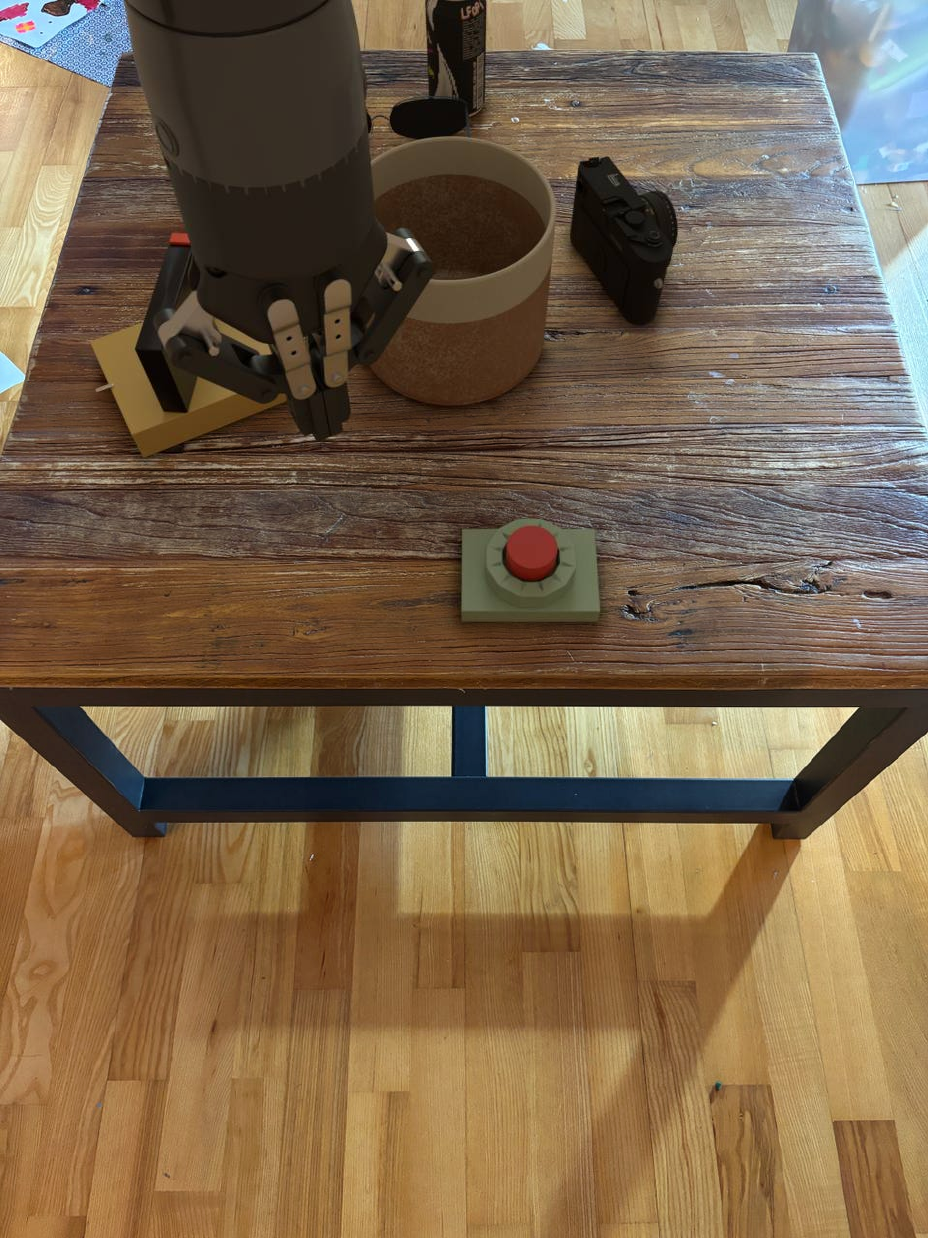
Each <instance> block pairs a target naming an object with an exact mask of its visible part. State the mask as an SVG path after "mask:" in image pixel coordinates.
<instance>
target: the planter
mask: <svg viewBox="0 0 928 1238" xmlns="http://www.w3.org/2000/svg"><path fill="white" fill-rule="evenodd" d="M371 169H372V180H373V191H374V202H375V216H376V218H377V220H378V221H379V223H380V224H381V225H382V226H383V227H384V229H385V231H386V232H387V233H390V234H392V233H393V232H394V231H396V230H397V229H400V228H407V229H409V230H410V231H411V233H412V234H413V236H414V237H415V239H416V240H417V241H418V243H419V244H420V246H421V247H422V249H423V250H424V251H425V253H426V254H427V256H428V257H429V259H430V260H431V261H432V263H433V264H434V266H435V272H434V275H433V276H432V278H431V280H430V281H429V283H428V284H427V286H426V287H425V289H424V290H423V292H422V293H421V295H420V296H419V298H418V299H417V301H416V303H415V304H414V306H413V307H412V309H411V310H410V312H409V313H408V315H407V316H406V318H405V319H404V321H403V322H402V324H401V326H400V327H399V329H398V330H397V332H396V333H395V335H394V336H393V338H392V339H391V341H390V342H389V344H388V346H387V347H386V349H385V350H384V352H383V353H382V355H381V356H380V358H379V359H378V360H377V361H376V362H375V363H373V364H371V365H368V366H369V368H370V369H371V370H372V372H373V373H374V375H376V376H377V377H378V378H379V380H381V381H382V382H383V383H384V384H385V385H387V386H388V387H389V388H390V389H392V390H394V391H395V392H397V393H399V394H400V395H402V396H405V397H406V398H409V399H412V400H415V401H418V402H421V403H425V404H429V405H430V404H431V405H437V406H466V405H471V404H472V405H473V404H477V403H481V402H485V401H489V400H492V399H494V398H496V397H498V396H501V395H503V394H505V393H507V392H508V391H510V390H512V389H513V388H515V387H516V386H517V385H519V384H520V383H521V382H522V381H523V380H524V379H525V378H526V377H527V376H528V375H529V374H530V373H531V371H533V369H534V368H535V366H536V365H537V363H538V361H539V359H540V357H541V354H542V352H543V349H544V344H545V335H546V325H547V313H548V305H549V294H550V285H551V284H550V283H551V275H552V264H553V263H552V262H553V255H554V254H553V253H554V242H555V231H556V221H557V202H556V196H555V193H554V191H553V190H554V189H553V188H552V186H551V184H550V182H549V180H548V178H547V177H546V176H545V174H544V173H543V172H542V171H541V170H540V169H539V168H538V167H537V166H536V165H535V164H534V163H533V162H531V160H529V159H528V158H527V157H525V156H523V155H521V154H520V153H518V152H517V151H515V150H513V149H511V148H509V147H506V146H504V145H501V144H499V143H496V142H493V141H489V140H486V139H481V138H476V137H475V138H474V137H471V138H468V137H467V136H449V137H434V138H427V139H421V140H418V139H416V140H413V141H410V142H406V143H403V144H399V145H398V146H395V147H393V148H390V149H389V150H387V151H384V152H383V153H381V154H379V155H378V156H376V157H375V158H373V159H371ZM374 316H375V313H374V314H373V315H372V317H371V319H370V320H369V322H368V323H367V325H366V326H367V328H368V327H369V326H370V324H371V323H372V321H373V319H374Z"/></svg>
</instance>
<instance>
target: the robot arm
mask: <svg viewBox="0 0 928 1238" xmlns="http://www.w3.org/2000/svg"><path fill="white" fill-rule="evenodd" d="M122 1H123V5H124V10H125V15H126V19H127V26H128V34H129V39H130V45H131V50H132V56H133V60H134V63H135V68H136V71H137V75H138V79H139V82H140V86H141V90H142V93H143V95H144V96H143V97H144V99H145V102H146V105H147V108H148V112H149V115H150V118H151V121H152V125H153V128H154V131H155V134H156V138H157V140H158V144H159V148H160V151H161V154H162V157H163V160H164V164H165V167H166V170H167V174H168V176H169V180H170V183H171V187H172V190H173V193H174V196H175V199H176V202H177V206H178V209H179V212H180V215H181V219H182V222H183V225H184V228H185V231H186V234H187V235H188V238H189V242H190V245H191V249H192V260H191V264H190V267H189V271H188V281H189V285H190V287H191V289H192V293H191V294H190V295H189V296H188V298H187V299H186V300H185V301H184V303H183V304H182V305H181V306H180V308H179V309H178V310H177V311H176V310H174V309H163V310H161V311H159V312H158V313H157V314H156V315H155V316H154V319H153V324H154V326H155V329H156V331H157V333H158V336H159V338H160V340H161V342H162V344H163V346H164V348H165V350H166V352H167V353H168V355H169V358H170V360H171V362H172V364H173V365H174V366H175V367H177V368H179V369H182V370H184V371H186V372H188V373H191V374H193V375H195V376H198V377H200V378H202V379H205V380H207V381H209V382H212V383H214V384H216V385H219V386H221V387H223V388H225V389H228V390H230V391H232V392H235V393H237V394H239V395H242V396H244V397H246V398H249V399H251V400H253V401H256V402H258V403H261V404H266V403H270V402H272V401H273V400H275V399H276V398H277V396H278V394H285V395H286V399H287V401H286V403H287V408H288V411H289V414H290V416H291V417H292V418H291V419H293V422H294V423H295V425H296V427H297V428H298V431H299V433H301V434H302V435H303V436H304V437H307V436H310V435H312V436H313V438H314V440H315V442H316V443H319V442H321V441H324V440H326V439H329V438H332V437H335V436H337V435H339V434H342V433H344V428H343V422H344V423H345V422H347V421H349V420H350V418H351V414H352V409H351V402H350V395H349V389H348V382H347V381H348V378H349V372H350V371H351V370H352V369H353V368H355V367H356V366H357V365H358V364H361V365H362V366H369V365H371V364H373V363H375V362H376V361H377V360H378V359H379V358H380V356H381V355H382V353H383V352H384V350H385V349H386V347H387V346H388V344H389V342H390V341H391V339H392V338H393V336H394V335H395V333H396V332H397V330H398V329H399V327H400V326H401V324H402V322H403V321H404V319H405V318H406V316H407V315H408V313H409V312H410V310H411V309H412V307H413V306H414V304H415V303H416V301H417V299H418V298H419V296H420V295H421V293H422V292H423V290H424V289H425V287H426V286H427V284H428V283H429V281H430V280H431V278H432V276H433V275H434V272H435V266H434V264H433V263H432V261H431V260H430V259H429V257H428V256H427V254H426V253H425V251H424V250H423V249H422V247H421V246H420V244H419V243H418V241H417V240H416V239H415V237H414V236H413V234H412V233H411V231H410V230H409V229H407V228H400V229H397V230H396V231H394V232H393V233H392V234H390V233H387V232H386V231H385V229H384V227H383V226H382V225H381V224H380V223H379V221H378V220H377V218H376V216H375V202H374V191H373V180H372V169H371V161H372V159H371V158H372V157H371V148H370V137H369V134H368V125H367V113H366V109H367V103H366V99H367V91H368V81H367V74H366V73H367V72H366V68H365V66H364V64H363V61H362V59H363V58H362V50H361V43H360V42H361V41H360V35H359V28H358V24H357V19H356V14H355V9H354V6H353V2H352V1H353V0H122ZM374 313H375V316H374V319H373V321H372V323H371V324H370V326H369V327H368V328H367V326H366V325H367V323H368V322H369V320H370V319H371V317H372V315H373V314H374ZM214 317H215V318H217V319H218V320H220V321H222V322H224V323H226V324H227V325H229V326H231V327H233V328H234V329H236V330H238V331H240V332H242V333H243V334H245V335H247V336H249V337H250V338H252V339H254V340H256V341H258V342H261V343H264V344H268V346H269V349H270V351H271V354H267V355H260V353H259V352H258V351H257V350H255V349H253V348H251V347H249V346H247V345H245V344H243V343H241V342H239V341H237V340H235V339H233V338H231V337H229V336H227V335H225V334H223V333H221V332H220V331H219V329H218V327H217V325H216V324H215V322H214Z"/></svg>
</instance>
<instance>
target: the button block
mask: <svg viewBox="0 0 928 1238" xmlns="http://www.w3.org/2000/svg"><path fill="white" fill-rule="evenodd" d="M524 526H539V527H542V528H544V529H546V530H548V531H549V532H550V533H551V534H552V535H553V536H554V538H555V540H556V542H557V547H558V550H557V556H556V562H555V566H554V568H553V570H552V571H551V573H550V574H548V575H547V576H546V577H544V578H542V579H539V580H532V581H530V580H524V579H521V578H519V577H517V576H515V575H514V574H513V573H512V572H511V571H510V570H509V568H508V566H507V563H506V549H507V541H508V539H509V537H510V535H511V534H512V533H513V532H514V531H516V530H517V529H519V528H521V527H524ZM598 573H599V572H598V557H597V543H596V530H595V529H594V528H561V527H560V526H557V525H556V524H553V523H551V522H549V521H547V520H545V519H542V518H518V519H515V520H513V521H511V522H509V523H507V524H505V525H503V526H500V527H499V528H462V529H461V604H460V605H461V622H471V623H472V622H474V623H476V622H481V623H482V622H483V623H486V622H488V623H489V622H492V623H493V622H494V623H495V622H499V623H500V622H503V623H504V622H506V623H507V622H509V623H512V622H515V623H517V622H518V623H519V622H520V623H521V622H522V623H528V622H529V623H531V622H532V623H533V622H535V623H538V622H539V623H540V622H541V623H543V622H544V623H546V622H547V623H550V622H553V623H557V622H558V623H560V622H561V623H570V622H571V623H597V622H598V621H599V617H600V614H601V601H600V587H599V586H600V585H599V574H598Z"/></svg>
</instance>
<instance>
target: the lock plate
mask: <svg viewBox="0 0 928 1238" xmlns="http://www.w3.org/2000/svg"><path fill="white" fill-rule="evenodd" d="M143 322H144V321H142V322H139V323H137V324H135V325H131V326H129V327H126V328H124V329H120V330H117V331H116V332H113V333H109V334H107V335H104V336H101V337H99V338H97V339H93V340H90V341H89V344H90V346H91V348H92V351H93V352H94V353H93V354H94V355H95V357H96V359H97V361H98V364H99V366H100V368H101V371H102V373H103V375H104V377H105V379H106V381H107V384H105V385H103V386H99V387H97V388H95V393H96V394H100V393H102V392H105V391H107V390H111V393H112V395H113V397H114V400H115V401H116V404H117V406H118V408H119V411H120V413H121V415H122V417H123V419H124V421H125V424H126V426H127V428H128V430H129V433H130V435H131V437H132V439H133V441H134V443H135V444H136V447H137V448H138V450H139V452H140V454H141V456H142V458H143V459H144V458H147V457H149V456H150V457H151V456H152V455H155V454H157V453H160V452H162V451H165V450H167V449H171V448H173V447H175V446H177V445H180V444H183V443H185V442H188V441H190V440H193V439H195V438H197V437H200V436H202V435H205V434H208V433H210V432H212V431H216V430H218V429H220V428H223V427H225V426H228V425H230V424H232V423H235V422H237V421H241V420H242V419H245V418H247V417H250V416H254V415H255V414H258V413H260V412H262V411H266V410H268V409H270V408H273V407H276V406H278V405H280V404H283V403H287V399H286V395H285V394H278V396H277V398H276V399H275V400H273V401H272V402H270V403H266V404H261V403H258V402H256V401H253V400H251V399H249V398H246V397H244V396H242V395H239V394H237V393H235V392H232V391H230V390H228V389H225V388H223V387H221V386H219V385H216V384H214V383H212V382H209V381H207V380H205V379H202V378H200V377H197V380H196V384H195V387H194V391H193V394H192V398H191V402H190V405H189V409H188V412H187V413H178V412H164V411H163V410H162V408H161V406H160V403H159V401H158V399H157V397H156V395H155V392H154V390H153V388H152V386H151V384H150V382H149V379H148V377H147V375H146V373H145V371H144V368H143V366H142V364H141V362H140V360H139V357H138V355H137V353H136V351H135V346H136V343H137V340H138V337H139V334H140V331H141V328H142V325H143ZM214 322H215V324H216V325H217V327H218V329H219V331H220V332H221V333H223V334H225V335H227V336H229V337H231V338H233V339H235V340H237V341H239V342H241V343H243V344H245V345H247V346H249V347H251V348H253V349H255V350H257V351H258V352H259V353H260V355H267V354H271V351H270V349H269V346H268V344H264V343H261V342H258V341H256V340H254V339H252V338H250V337H249V336H247V335H245V334H243V333H242V332H240V331H238V330H236V329H234V328H233V327H231V326H229V325H227V324H226V323H224V322H222V321H220V320H218V319H217V318H215V317H214Z"/></svg>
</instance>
